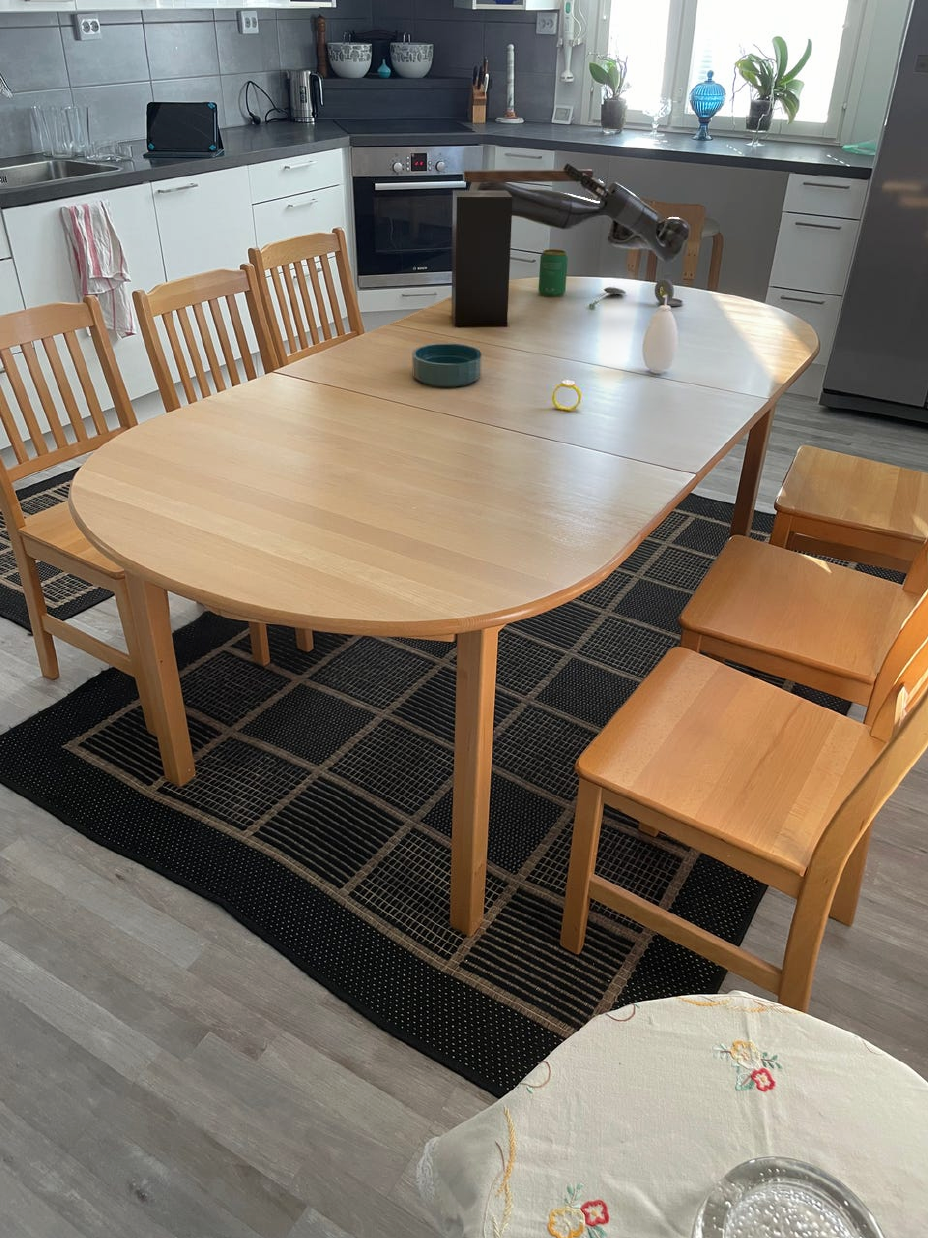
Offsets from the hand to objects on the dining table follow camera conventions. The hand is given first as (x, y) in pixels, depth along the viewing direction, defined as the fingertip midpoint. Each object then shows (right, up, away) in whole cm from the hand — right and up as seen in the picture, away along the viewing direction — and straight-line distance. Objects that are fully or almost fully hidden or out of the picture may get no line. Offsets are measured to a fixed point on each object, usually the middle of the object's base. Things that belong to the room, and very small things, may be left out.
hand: (566, 167), depth 232 cm
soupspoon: (+16, -18, +44) cm, 50 cm away
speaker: (-21, -31, +23) cm, 44 cm away
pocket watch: (+34, -20, +42) cm, 57 cm away
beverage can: (+1, -14, +50) cm, 52 cm away
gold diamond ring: (-4, -67, -32) cm, 74 cm away
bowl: (-29, -56, -16) cm, 65 cm away
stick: (-9, -2, 0) cm, 10 cm away
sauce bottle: (+20, -53, -11) cm, 58 cm away
